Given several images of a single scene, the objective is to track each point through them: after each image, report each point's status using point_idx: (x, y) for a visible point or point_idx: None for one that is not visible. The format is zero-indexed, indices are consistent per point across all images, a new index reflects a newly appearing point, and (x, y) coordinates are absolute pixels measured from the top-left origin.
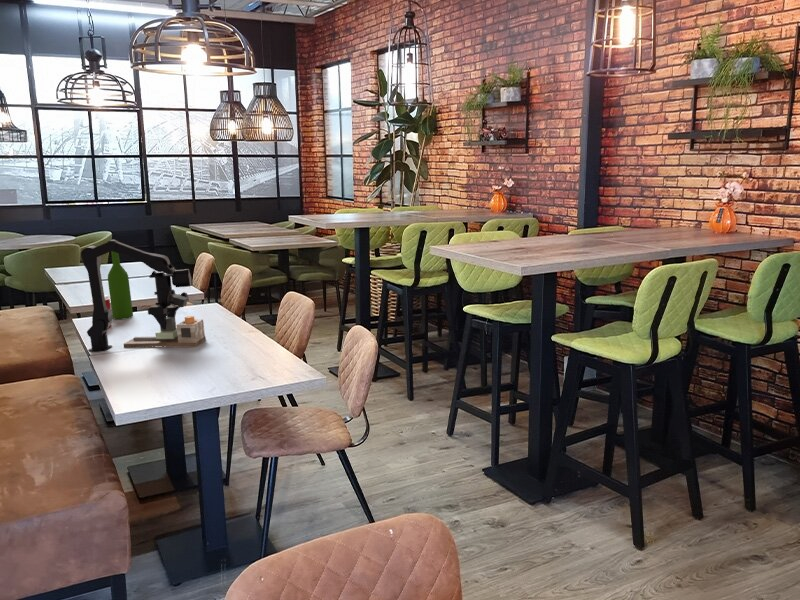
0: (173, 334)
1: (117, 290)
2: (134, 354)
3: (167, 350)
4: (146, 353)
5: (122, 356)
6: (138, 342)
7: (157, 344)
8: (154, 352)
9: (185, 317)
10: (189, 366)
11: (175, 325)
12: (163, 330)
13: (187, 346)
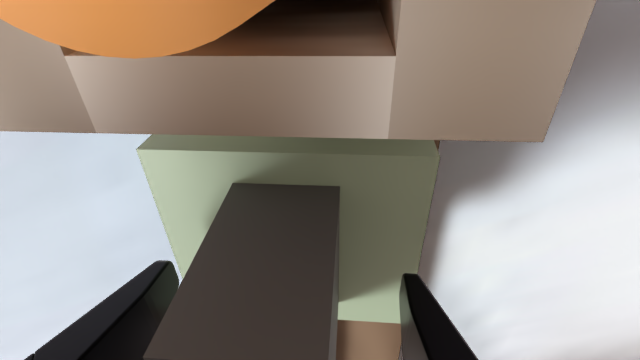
0: (417, 140)
1: None
2: (595, 285)
3: (572, 87)
4: (605, 224)
5: (617, 326)
6: (374, 341)
7: None
8: (600, 178)
9: (173, 4)
10: None
11: (227, 220)
12: (338, 287)
13: None
